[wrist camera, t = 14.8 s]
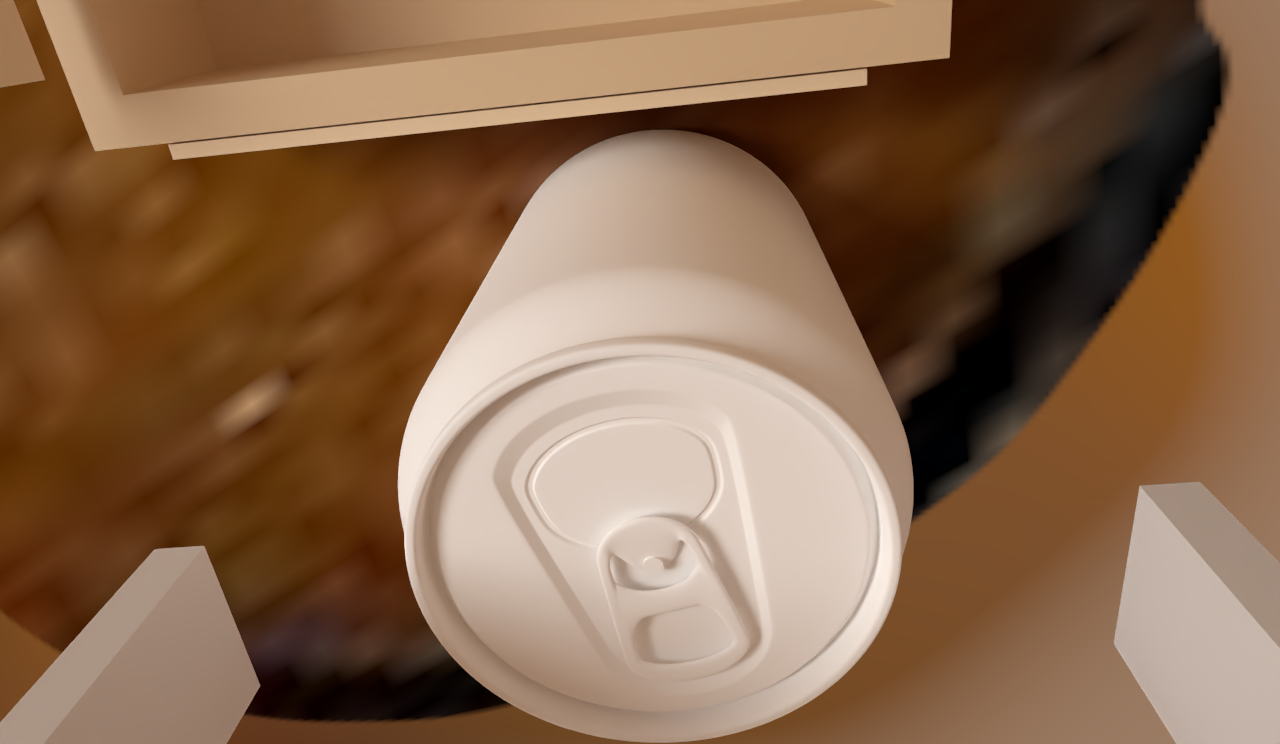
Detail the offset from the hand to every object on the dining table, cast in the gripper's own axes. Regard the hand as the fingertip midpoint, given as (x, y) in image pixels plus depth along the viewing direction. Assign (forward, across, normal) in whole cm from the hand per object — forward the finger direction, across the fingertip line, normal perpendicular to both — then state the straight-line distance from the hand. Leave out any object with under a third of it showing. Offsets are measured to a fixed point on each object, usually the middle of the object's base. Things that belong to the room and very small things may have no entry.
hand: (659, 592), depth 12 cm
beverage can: (+12, 0, 0) cm, 12 cm away
